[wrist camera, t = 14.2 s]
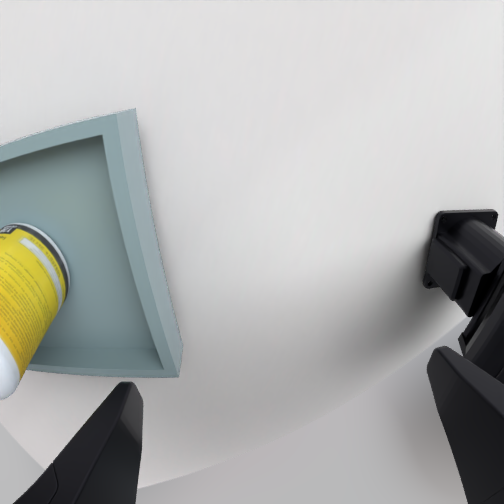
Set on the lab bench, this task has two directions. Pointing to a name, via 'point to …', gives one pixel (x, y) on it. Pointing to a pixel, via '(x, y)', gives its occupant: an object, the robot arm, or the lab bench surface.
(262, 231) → the lab bench surface
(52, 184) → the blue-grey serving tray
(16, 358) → the pill bottle
